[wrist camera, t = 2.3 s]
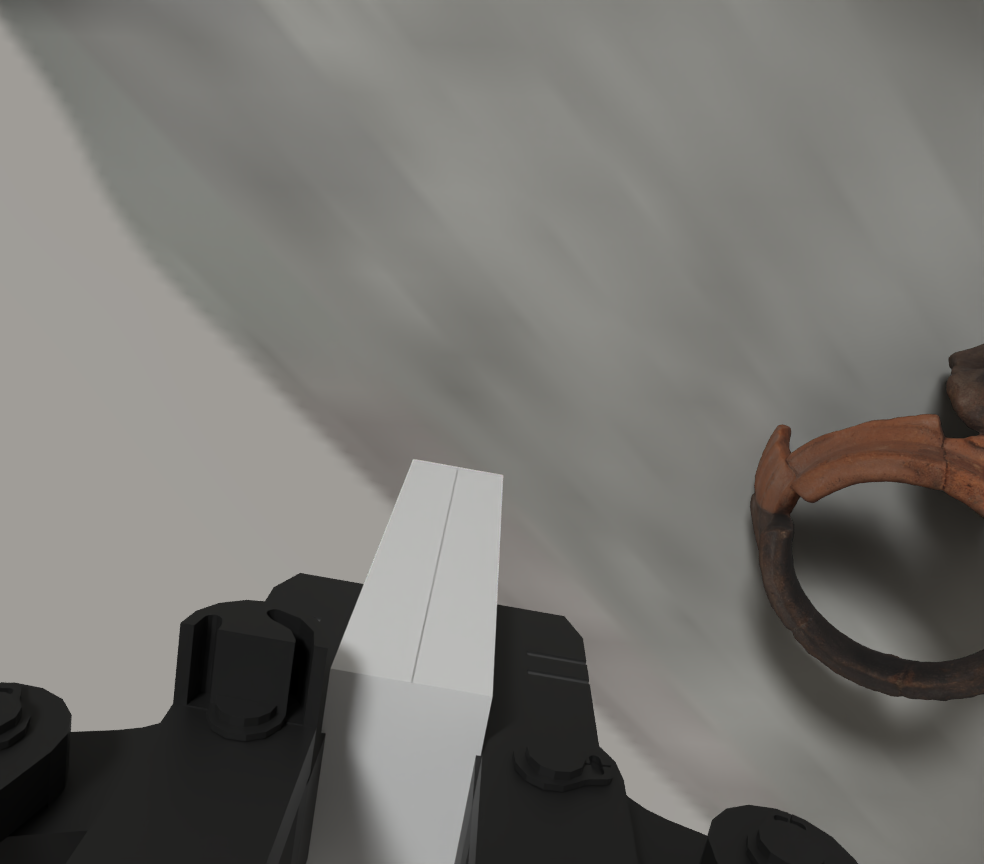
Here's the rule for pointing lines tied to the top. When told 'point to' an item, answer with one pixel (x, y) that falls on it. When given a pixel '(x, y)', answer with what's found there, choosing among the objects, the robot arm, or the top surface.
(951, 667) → the broken pottery fragment
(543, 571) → the top surface
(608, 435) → the top surface
